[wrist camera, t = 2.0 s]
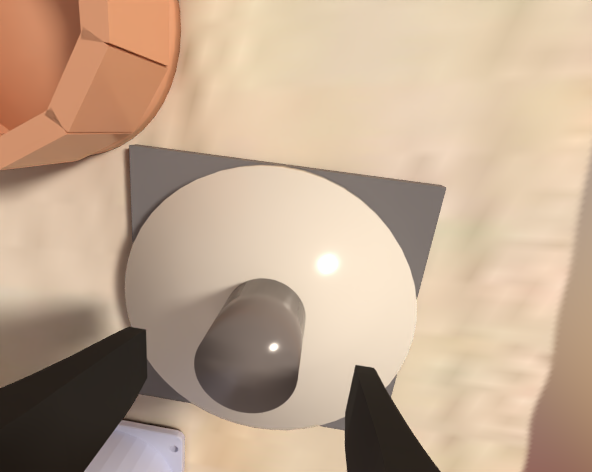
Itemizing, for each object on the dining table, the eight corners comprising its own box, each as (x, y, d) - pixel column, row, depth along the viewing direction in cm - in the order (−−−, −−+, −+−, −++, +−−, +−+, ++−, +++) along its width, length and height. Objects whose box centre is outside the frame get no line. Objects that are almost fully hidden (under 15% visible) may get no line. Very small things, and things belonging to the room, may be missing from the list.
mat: (378, 426, 18) (380, 436, 17) (144, 385, 18) (138, 393, 18) (441, 185, 14) (446, 187, 13) (137, 144, 14) (129, 145, 14)
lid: (380, 436, 17) (396, 535, 13) (138, 393, 18) (79, 473, 14) (446, 187, 13) (500, 214, 9) (129, 144, 14) (42, 150, 10)
